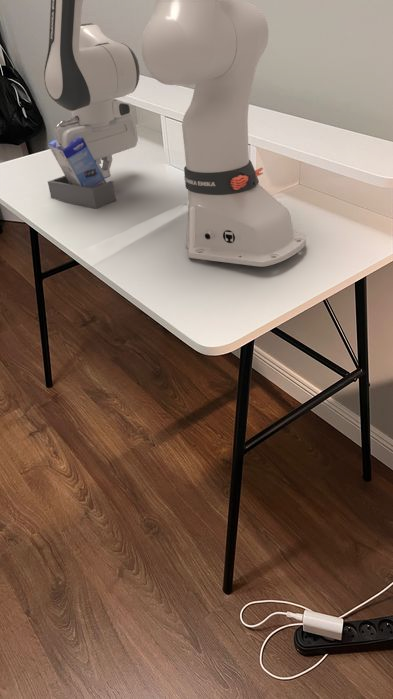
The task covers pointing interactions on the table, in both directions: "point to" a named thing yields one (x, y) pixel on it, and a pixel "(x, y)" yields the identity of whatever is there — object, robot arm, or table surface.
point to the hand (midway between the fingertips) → (104, 178)
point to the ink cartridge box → (78, 163)
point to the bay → (81, 193)
